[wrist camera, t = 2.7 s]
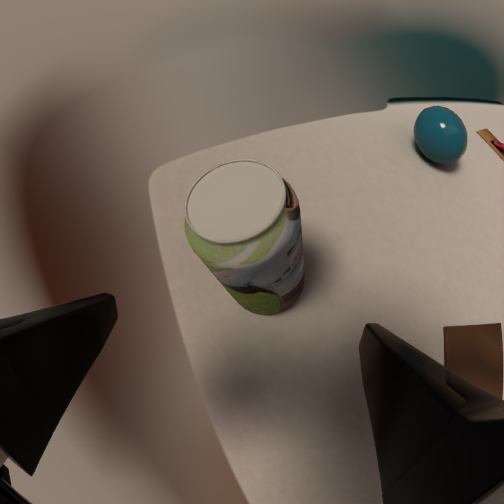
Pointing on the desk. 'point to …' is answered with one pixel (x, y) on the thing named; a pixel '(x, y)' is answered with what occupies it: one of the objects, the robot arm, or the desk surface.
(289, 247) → the beverage can
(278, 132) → the desk surface
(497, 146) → the board
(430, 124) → the ball
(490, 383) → the coaster
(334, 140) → the desk surface
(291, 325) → the desk surface
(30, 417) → the robot arm
